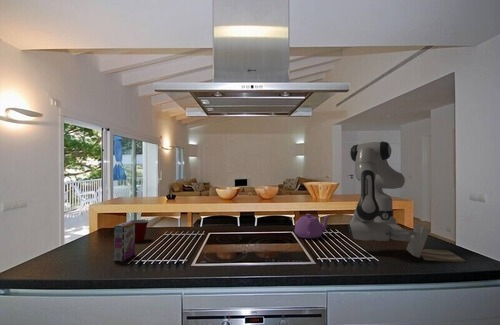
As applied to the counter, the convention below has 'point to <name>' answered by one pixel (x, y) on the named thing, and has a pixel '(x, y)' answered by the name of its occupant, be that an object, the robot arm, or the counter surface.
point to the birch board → (440, 256)
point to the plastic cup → (140, 229)
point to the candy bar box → (124, 241)
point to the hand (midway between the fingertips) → (414, 232)
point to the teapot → (310, 227)
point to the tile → (418, 240)
